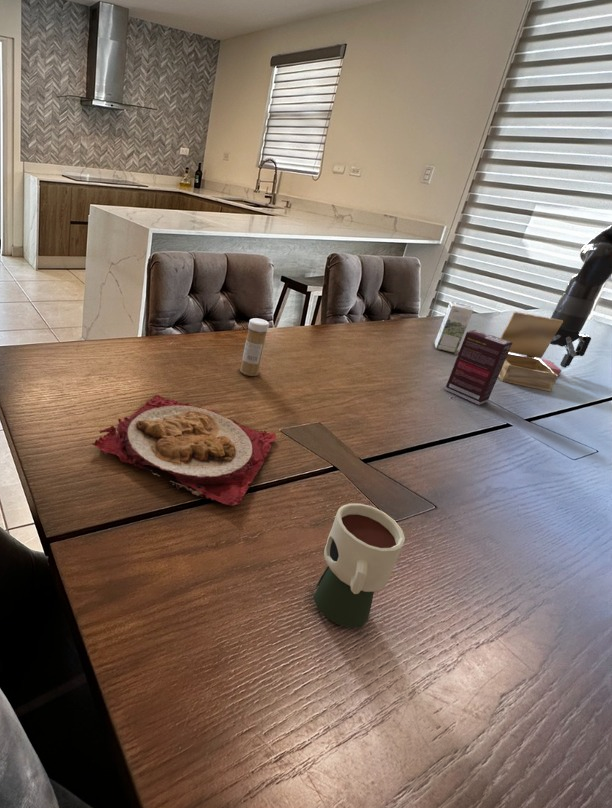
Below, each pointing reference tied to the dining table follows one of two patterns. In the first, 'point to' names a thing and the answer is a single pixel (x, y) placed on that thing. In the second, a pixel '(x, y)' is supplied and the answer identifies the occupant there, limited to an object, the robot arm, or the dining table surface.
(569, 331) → the robot arm
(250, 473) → the plate with food
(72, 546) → the dining table surface
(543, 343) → the box lid
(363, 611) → the character mug
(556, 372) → the pink rectangular block
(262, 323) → the sprinkles bottle
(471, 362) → the supplement box
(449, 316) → the syrup box
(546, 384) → the box
